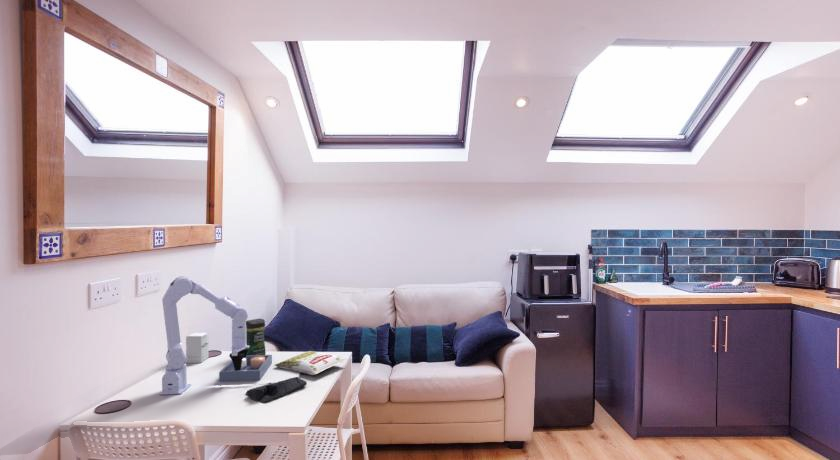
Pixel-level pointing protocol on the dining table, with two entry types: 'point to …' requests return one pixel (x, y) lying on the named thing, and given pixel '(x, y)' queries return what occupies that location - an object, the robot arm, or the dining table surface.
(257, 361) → the peach round blob
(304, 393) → the dining table surface
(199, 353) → the supplement box
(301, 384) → the dark slate chunk
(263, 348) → the coffee jar
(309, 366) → the frozen beans
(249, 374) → the slate blue tote
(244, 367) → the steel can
